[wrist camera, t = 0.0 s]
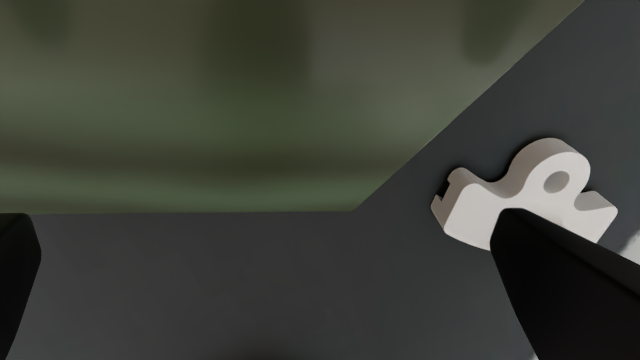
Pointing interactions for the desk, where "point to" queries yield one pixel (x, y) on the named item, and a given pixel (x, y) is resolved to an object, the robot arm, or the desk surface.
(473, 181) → the joystick
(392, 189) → the desk surface
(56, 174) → the lid
